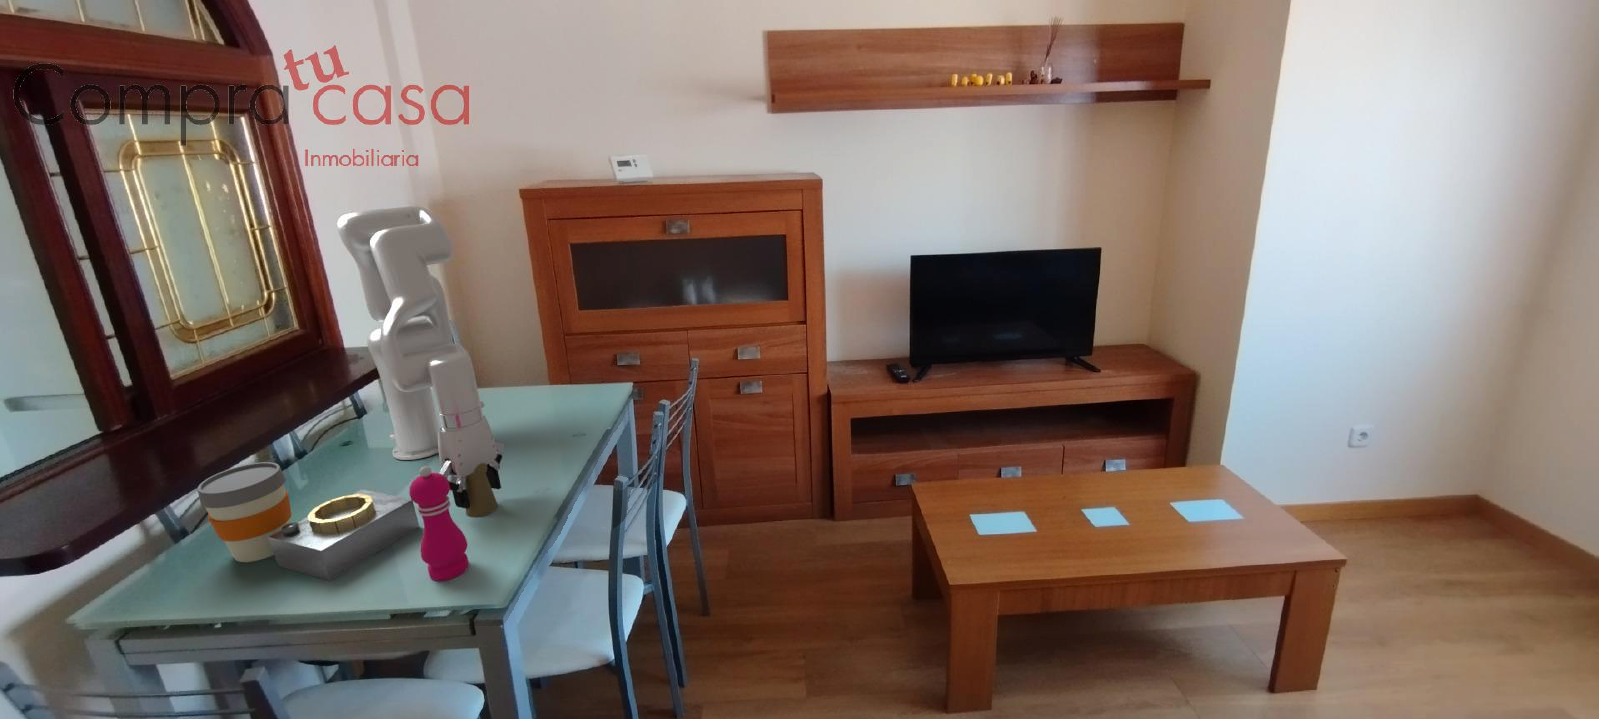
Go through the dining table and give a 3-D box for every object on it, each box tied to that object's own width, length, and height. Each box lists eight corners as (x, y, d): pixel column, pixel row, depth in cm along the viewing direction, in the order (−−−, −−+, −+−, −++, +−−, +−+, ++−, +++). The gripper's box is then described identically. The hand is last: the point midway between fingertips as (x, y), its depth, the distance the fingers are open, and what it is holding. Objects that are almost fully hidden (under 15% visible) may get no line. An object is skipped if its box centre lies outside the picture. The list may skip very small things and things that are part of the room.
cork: (504, 503, 143) (494, 455, 139) (483, 518, 137) (471, 468, 134) (481, 500, 145) (470, 452, 141) (459, 515, 139) (447, 465, 136)
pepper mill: (436, 560, 124) (411, 459, 118) (478, 556, 125) (455, 455, 119) (419, 584, 117) (391, 479, 111) (463, 580, 118) (437, 475, 112)
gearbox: (278, 565, 125) (265, 527, 123) (369, 515, 141) (359, 480, 138) (330, 580, 120) (317, 540, 117) (419, 526, 136) (410, 490, 133)
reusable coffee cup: (204, 569, 125) (176, 496, 121) (255, 531, 137) (231, 463, 133) (273, 566, 125) (248, 492, 120) (318, 528, 137) (297, 459, 132)
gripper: (481, 398, 144) (497, 475, 149) (408, 432, 128) (429, 516, 134) (509, 402, 141) (525, 480, 146) (438, 436, 126) (458, 522, 131)
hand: (479, 496), depth 140 cm, fingers open, 7 cm apart
